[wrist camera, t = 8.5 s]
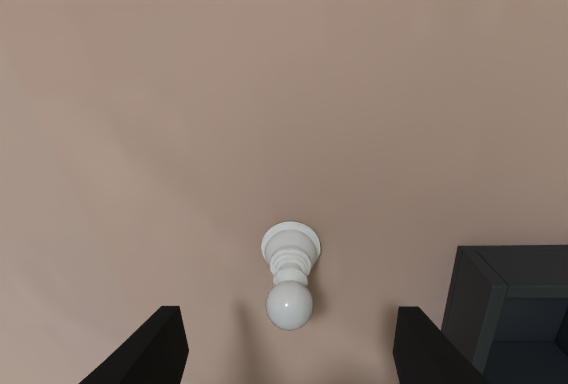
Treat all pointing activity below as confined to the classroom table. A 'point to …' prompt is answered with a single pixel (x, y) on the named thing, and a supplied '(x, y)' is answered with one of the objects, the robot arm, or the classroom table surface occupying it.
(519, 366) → the tray
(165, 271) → the classroom table surface
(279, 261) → the chess pawn
